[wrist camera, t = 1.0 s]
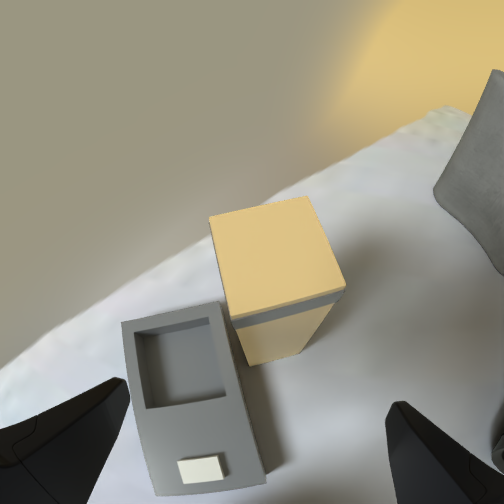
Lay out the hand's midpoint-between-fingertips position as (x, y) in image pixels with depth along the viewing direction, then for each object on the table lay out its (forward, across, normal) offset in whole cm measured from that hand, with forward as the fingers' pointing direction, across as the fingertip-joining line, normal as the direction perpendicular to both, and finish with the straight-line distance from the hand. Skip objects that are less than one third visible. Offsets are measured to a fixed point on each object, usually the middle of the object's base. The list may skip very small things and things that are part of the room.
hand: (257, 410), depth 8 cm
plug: (+13, 0, +6) cm, 14 cm away
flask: (+23, -25, -4) cm, 34 cm away
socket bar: (+9, +5, +10) cm, 14 cm away
